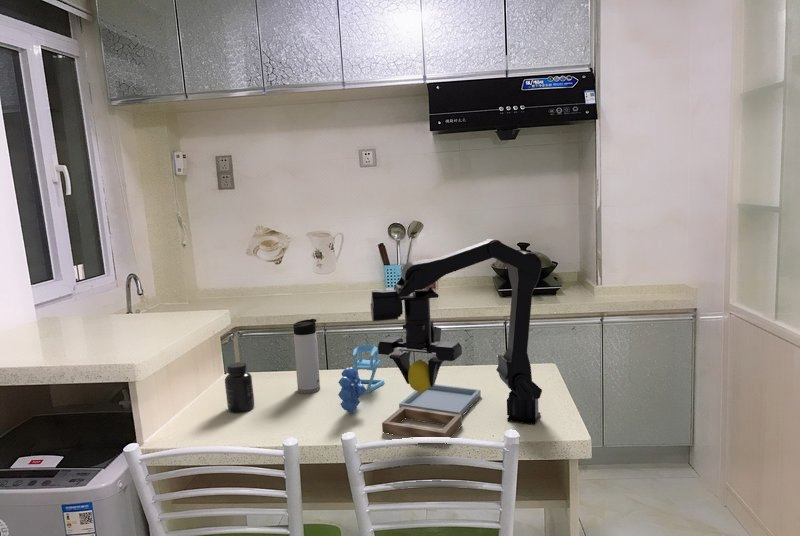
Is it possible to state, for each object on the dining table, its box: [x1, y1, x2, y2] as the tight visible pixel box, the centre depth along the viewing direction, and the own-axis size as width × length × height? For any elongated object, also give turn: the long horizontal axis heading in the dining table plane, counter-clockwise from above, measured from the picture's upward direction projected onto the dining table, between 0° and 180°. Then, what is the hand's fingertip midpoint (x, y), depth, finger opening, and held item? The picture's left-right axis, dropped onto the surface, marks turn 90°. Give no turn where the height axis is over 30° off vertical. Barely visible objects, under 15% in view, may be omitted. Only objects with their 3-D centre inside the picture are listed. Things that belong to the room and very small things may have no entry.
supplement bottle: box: [224, 361, 255, 414], centre depth 146 cm, size 7×7×12 cm
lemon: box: [408, 358, 431, 393], centre depth 127 cm, size 6×6×8 cm
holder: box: [381, 406, 463, 438], centre depth 129 cm, size 15×10×2 cm
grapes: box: [337, 366, 367, 414], centre depth 140 cm, size 12×7×12 cm, turn 168°
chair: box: [351, 343, 385, 394], centre depth 158 cm, size 8×8×12 cm
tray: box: [398, 383, 482, 416], centre depth 144 cm, size 16×16×2 cm
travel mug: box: [292, 318, 321, 394], centre depth 158 cm, size 6×7×20 cm
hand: (420, 384), depth 128 cm, fingers closed on lemon, 5 cm apart
